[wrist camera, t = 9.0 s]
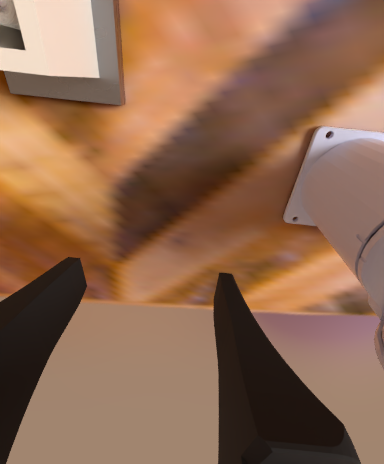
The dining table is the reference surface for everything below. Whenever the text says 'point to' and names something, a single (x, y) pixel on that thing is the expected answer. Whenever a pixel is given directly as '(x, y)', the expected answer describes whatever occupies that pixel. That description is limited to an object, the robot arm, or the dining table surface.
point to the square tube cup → (51, 39)
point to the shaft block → (78, 88)
